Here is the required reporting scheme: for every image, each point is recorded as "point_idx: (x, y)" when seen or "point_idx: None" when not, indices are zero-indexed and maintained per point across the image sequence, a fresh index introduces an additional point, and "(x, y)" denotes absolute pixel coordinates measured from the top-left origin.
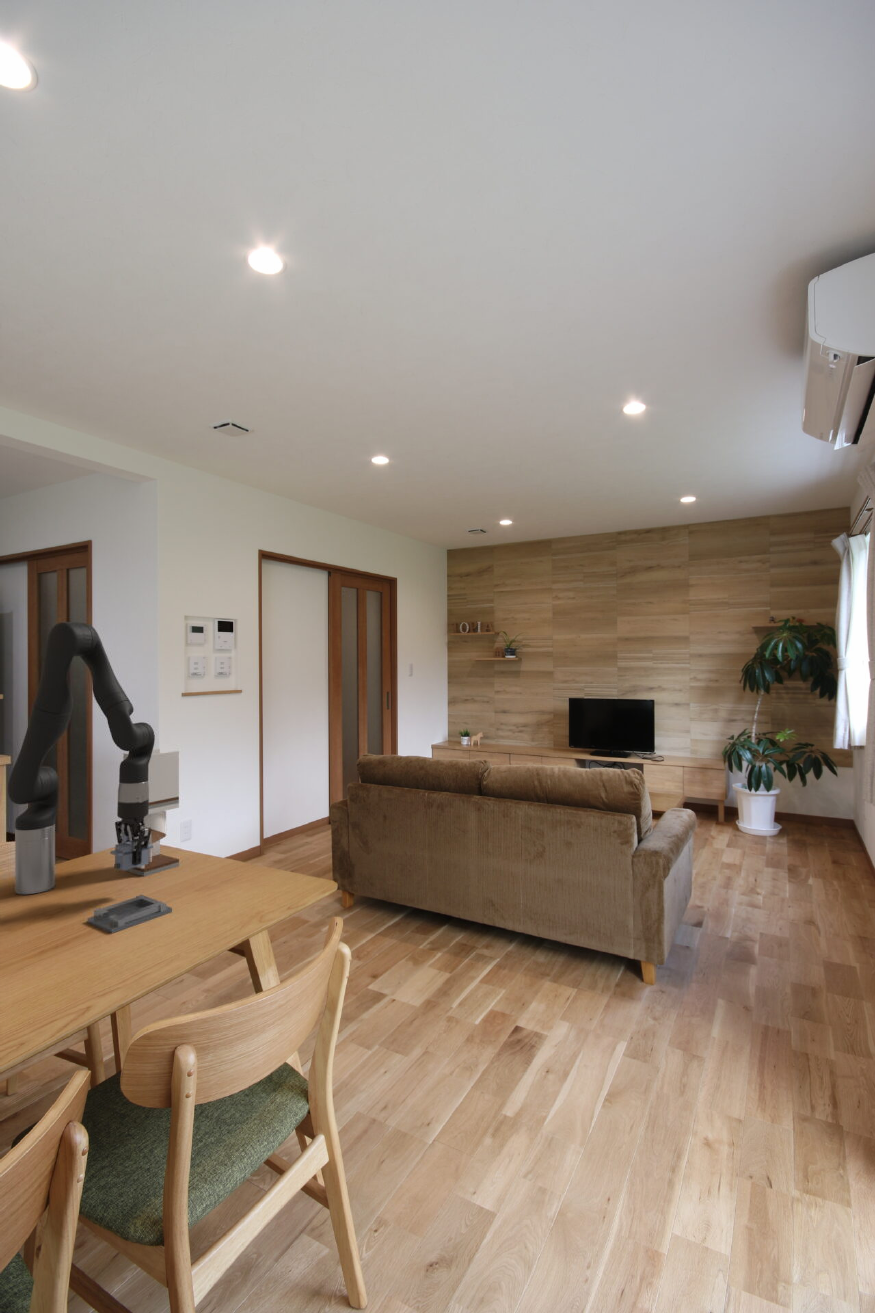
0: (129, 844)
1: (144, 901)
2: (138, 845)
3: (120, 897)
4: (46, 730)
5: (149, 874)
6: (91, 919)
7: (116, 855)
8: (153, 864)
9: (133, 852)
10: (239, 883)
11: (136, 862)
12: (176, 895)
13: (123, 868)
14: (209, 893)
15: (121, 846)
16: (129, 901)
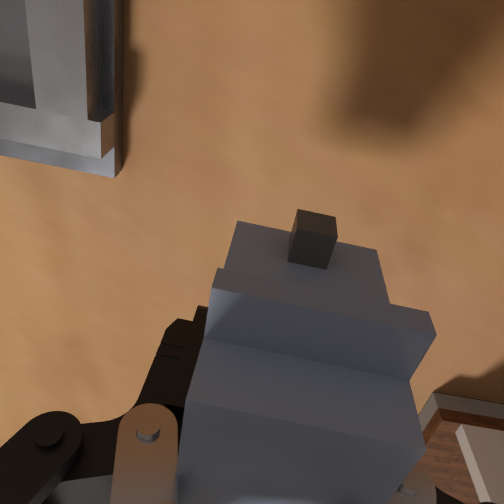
0: (248, 492)
1: (6, 99)
2: (4, 471)
3: (329, 176)
4: None
5: (423, 410)
6: None
7: (275, 283)
8: (444, 463)
9: (173, 396)
10: (16, 420)
11: (173, 326)
12: (94, 282)
13: (235, 235)
14: (2, 333)
15: (264, 425)
16: (46, 34)
